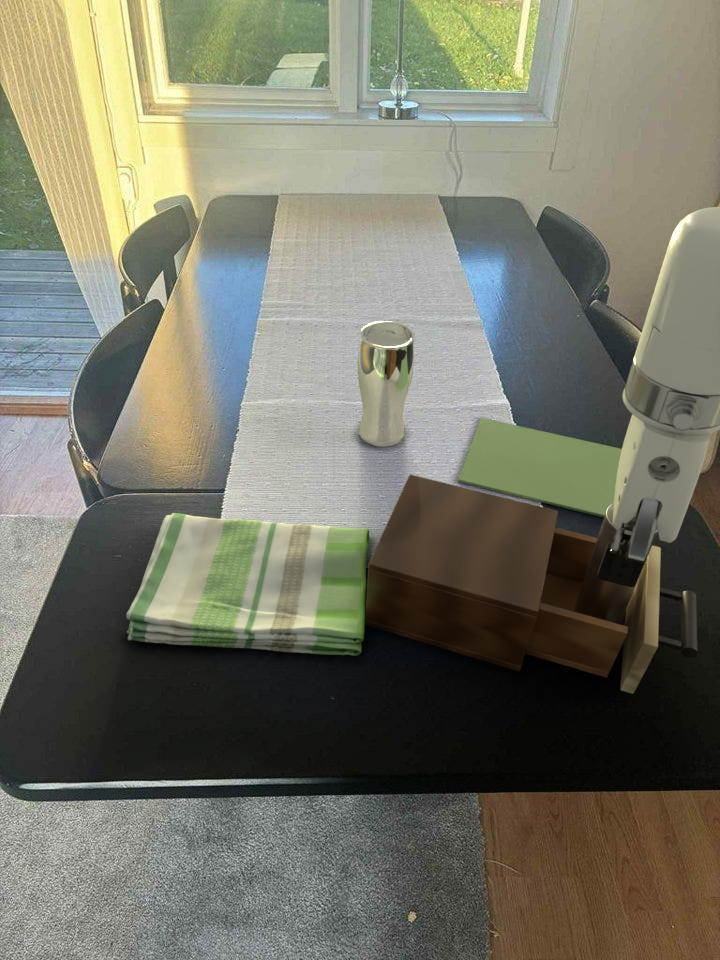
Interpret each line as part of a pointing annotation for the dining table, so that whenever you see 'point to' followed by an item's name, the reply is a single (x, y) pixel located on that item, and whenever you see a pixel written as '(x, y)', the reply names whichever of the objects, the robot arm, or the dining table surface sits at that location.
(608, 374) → the dining table surface
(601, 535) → the silver metal cylinder
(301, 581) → the dish towel
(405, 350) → the beer glass
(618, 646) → the drawer
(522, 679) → the dining table surface
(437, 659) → the dining table surface
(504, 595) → the cabinet
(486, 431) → the placemat
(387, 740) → the dining table surface
